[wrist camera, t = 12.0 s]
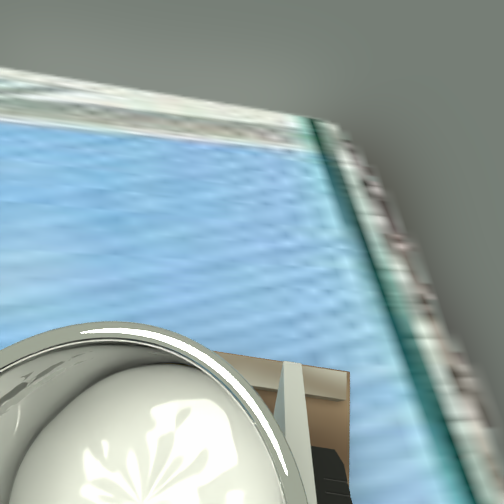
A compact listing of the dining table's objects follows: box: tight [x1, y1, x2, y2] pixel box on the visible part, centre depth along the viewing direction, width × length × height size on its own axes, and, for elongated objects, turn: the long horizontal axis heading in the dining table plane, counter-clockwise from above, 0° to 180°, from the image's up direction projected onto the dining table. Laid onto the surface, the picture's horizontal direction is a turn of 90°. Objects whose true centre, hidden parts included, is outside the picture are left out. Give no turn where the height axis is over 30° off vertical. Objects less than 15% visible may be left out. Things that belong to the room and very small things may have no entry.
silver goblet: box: [0, 321, 308, 504], centre depth 11 cm, size 7×7×15 cm
